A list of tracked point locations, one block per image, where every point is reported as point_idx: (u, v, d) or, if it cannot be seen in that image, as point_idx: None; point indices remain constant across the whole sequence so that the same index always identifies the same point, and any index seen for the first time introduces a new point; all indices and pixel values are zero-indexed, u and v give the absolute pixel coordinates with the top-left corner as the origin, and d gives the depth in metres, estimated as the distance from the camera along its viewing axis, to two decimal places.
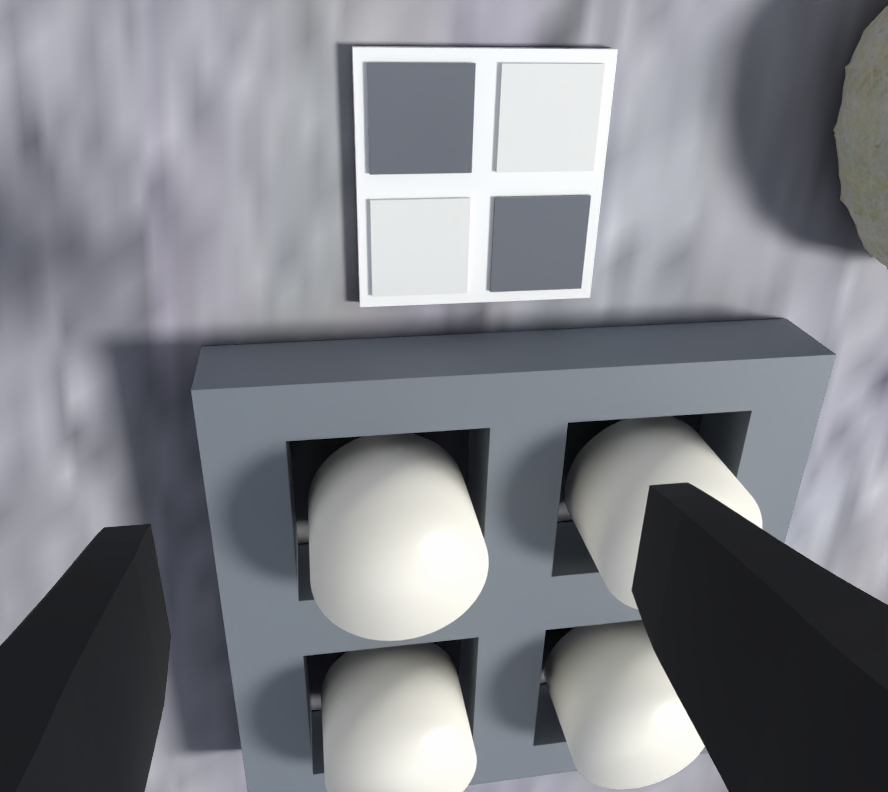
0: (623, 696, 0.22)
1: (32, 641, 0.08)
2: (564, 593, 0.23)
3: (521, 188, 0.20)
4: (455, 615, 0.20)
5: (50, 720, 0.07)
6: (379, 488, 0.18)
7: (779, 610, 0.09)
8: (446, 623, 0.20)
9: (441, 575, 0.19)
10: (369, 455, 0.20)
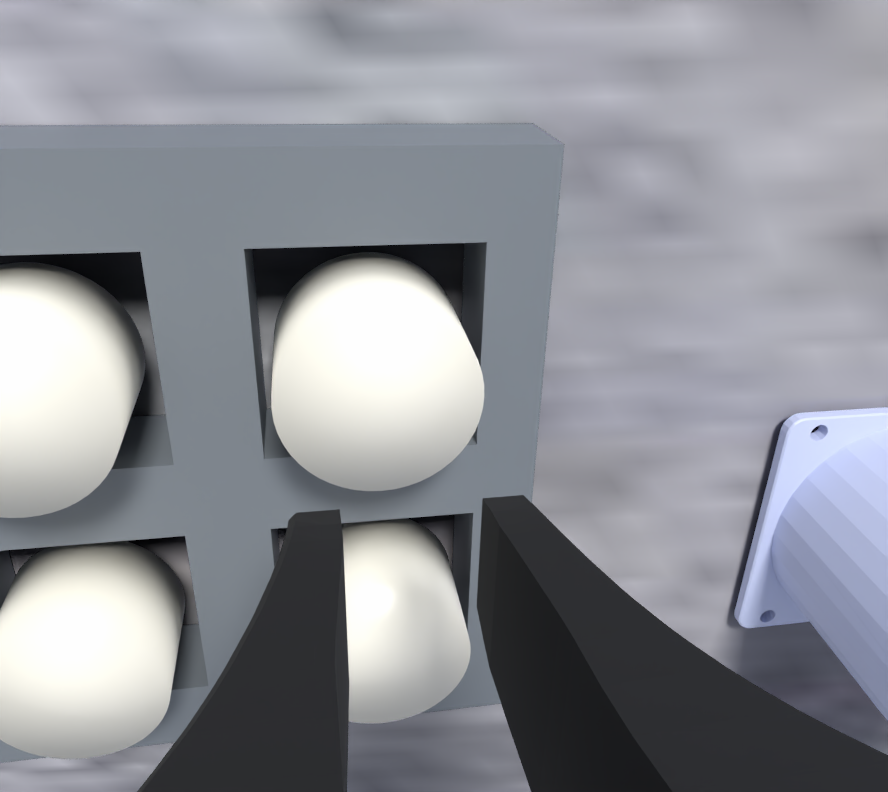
0: (284, 445, 0.16)
1: (283, 617, 0.09)
2: (201, 446, 0.18)
3: None
4: (132, 643, 0.18)
5: (334, 688, 0.08)
6: None
7: (562, 633, 0.09)
8: (144, 649, 0.18)
9: (71, 663, 0.18)
10: None
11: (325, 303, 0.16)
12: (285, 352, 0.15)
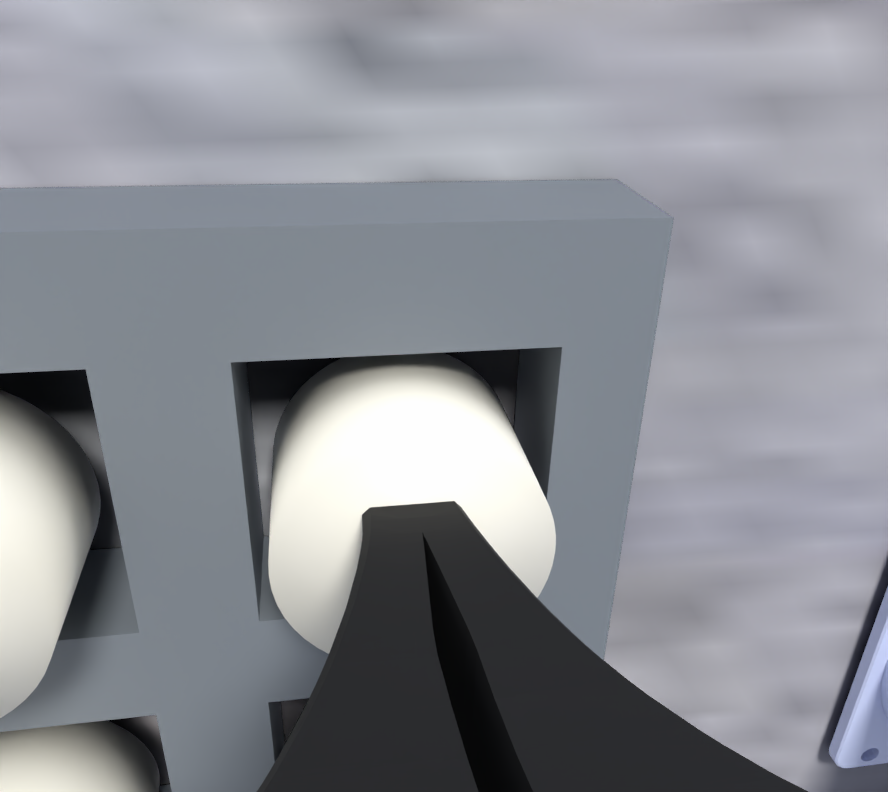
0: None
1: (378, 608, 0.09)
2: (176, 609, 0.14)
3: None
4: None
5: (440, 677, 0.08)
6: None
7: (469, 642, 0.08)
8: None
9: None
10: None
11: (342, 431, 0.11)
12: (288, 503, 0.11)
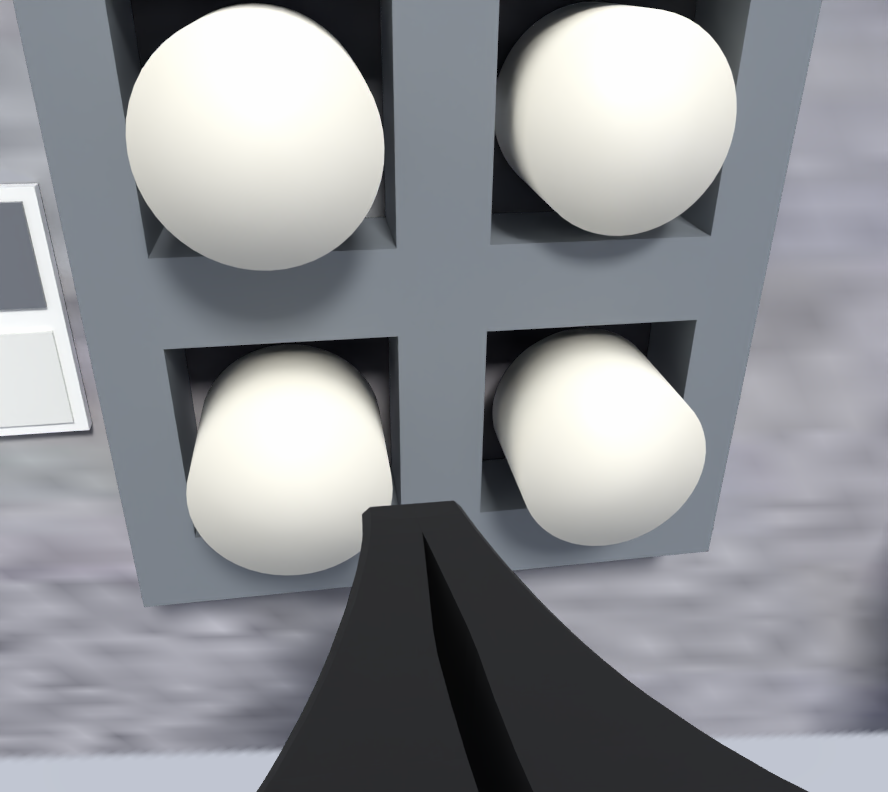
0: (533, 176, 0.16)
1: (377, 607, 0.09)
2: (428, 226, 0.17)
3: None
4: (360, 435, 0.16)
5: (440, 676, 0.08)
6: None
7: (469, 642, 0.08)
8: (372, 443, 0.17)
9: (296, 456, 0.16)
10: None
11: (581, 21, 0.15)
12: (546, 65, 0.15)
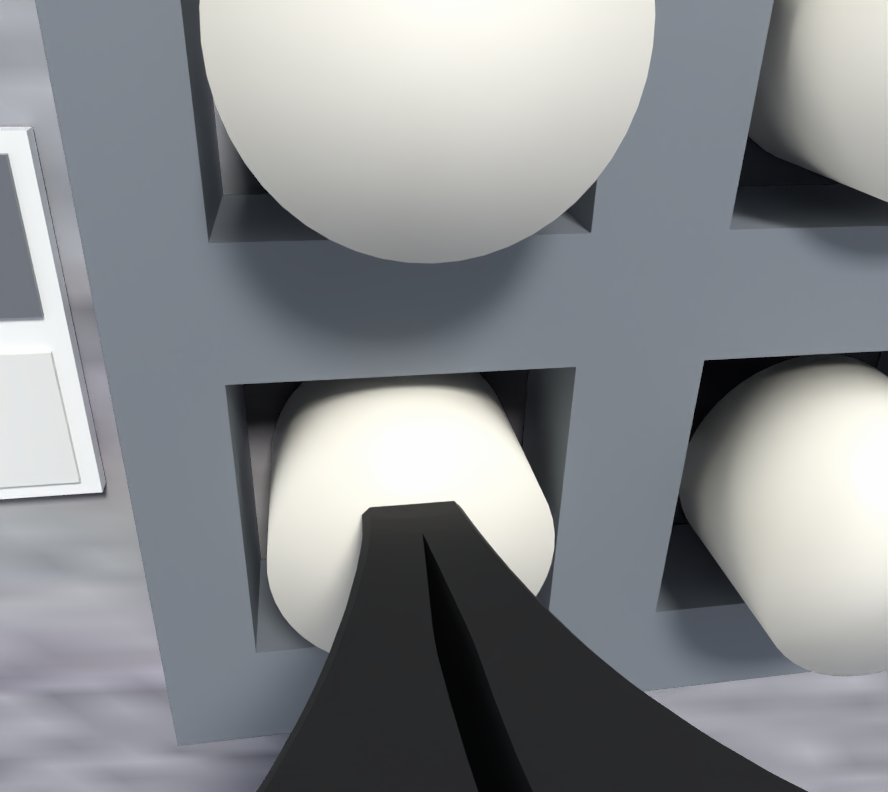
0: (839, 116, 0.10)
1: (378, 608, 0.09)
2: (642, 199, 0.11)
3: None
4: (519, 475, 0.11)
5: (440, 677, 0.08)
6: None
7: (469, 642, 0.08)
8: (534, 487, 0.12)
9: None
10: None
11: None
12: None
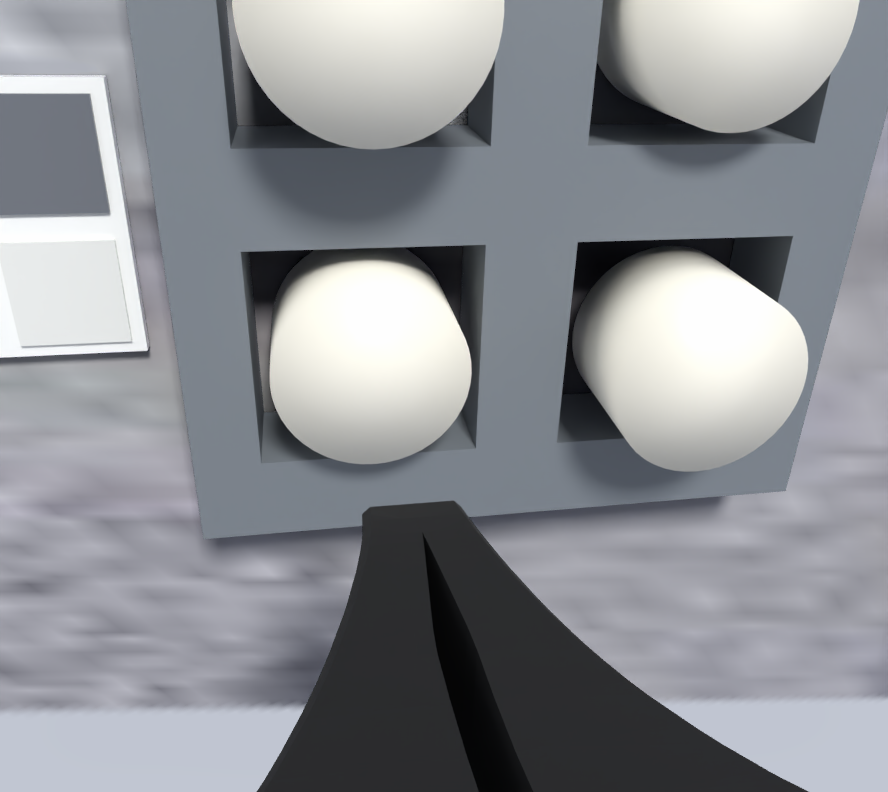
0: (645, 62, 0.15)
1: (378, 607, 0.09)
2: (525, 122, 0.16)
3: None
4: (444, 316, 0.16)
5: (440, 676, 0.08)
6: None
7: (469, 642, 0.08)
8: (455, 325, 0.17)
9: (379, 336, 0.16)
10: None
11: None
12: None
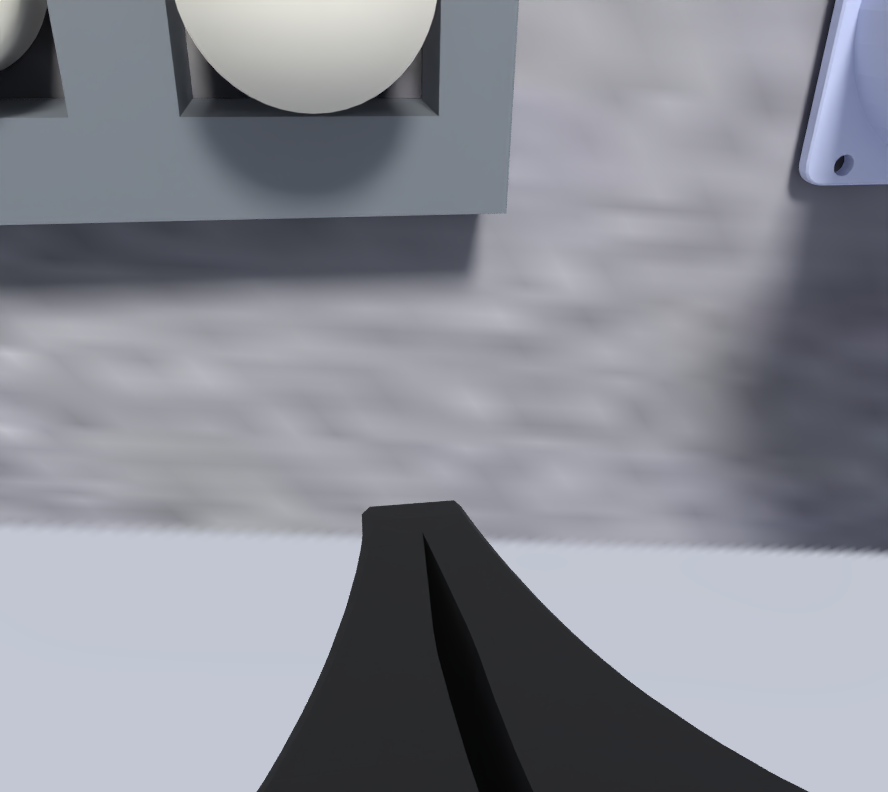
0: None
1: (378, 608, 0.09)
2: None
3: None
4: None
5: (440, 677, 0.08)
6: None
7: (469, 642, 0.08)
8: None
9: None
10: None
11: None
12: None
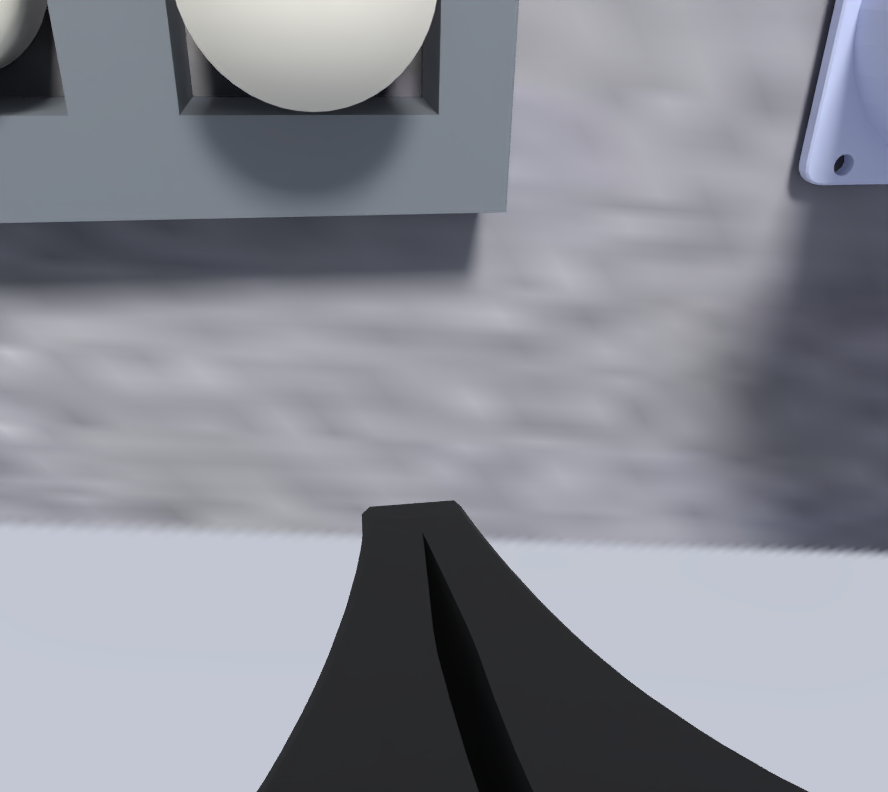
0: None
1: (378, 608, 0.09)
2: None
3: None
4: None
5: (440, 677, 0.08)
6: None
7: (469, 642, 0.08)
8: None
9: None
10: None
11: None
12: None
